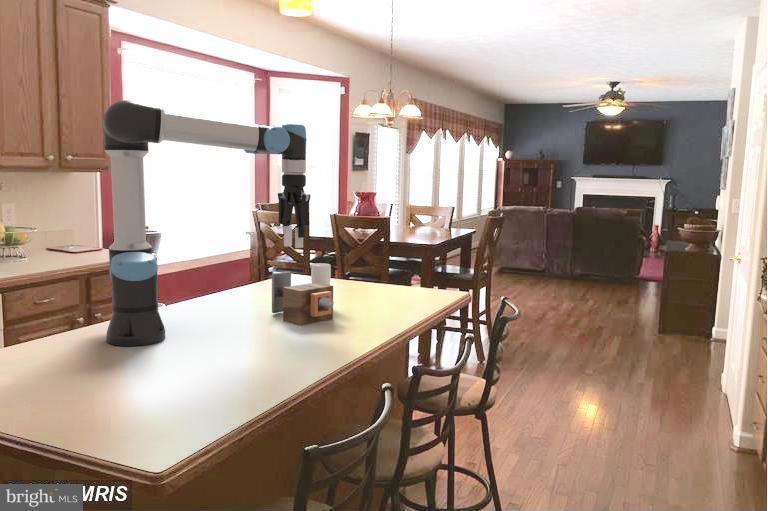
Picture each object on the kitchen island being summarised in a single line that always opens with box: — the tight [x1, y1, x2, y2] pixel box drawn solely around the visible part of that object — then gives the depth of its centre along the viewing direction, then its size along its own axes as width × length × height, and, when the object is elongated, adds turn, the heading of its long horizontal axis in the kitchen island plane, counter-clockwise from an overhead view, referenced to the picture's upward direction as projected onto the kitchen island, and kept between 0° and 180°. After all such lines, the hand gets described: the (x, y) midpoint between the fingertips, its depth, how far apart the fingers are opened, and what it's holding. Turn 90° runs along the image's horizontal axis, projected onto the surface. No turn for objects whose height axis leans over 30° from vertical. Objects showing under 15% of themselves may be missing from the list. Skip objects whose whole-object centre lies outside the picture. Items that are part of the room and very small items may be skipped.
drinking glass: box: [310, 262, 332, 285], centre depth 222 cm, size 7×7×15 cm
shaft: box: [271, 271, 334, 314], centre depth 203 cm, size 7×24×13 cm, turn 48°
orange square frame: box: [311, 291, 332, 317], centre depth 198 cm, size 7×2×7 cm, turn 138°
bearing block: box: [282, 282, 334, 327], centre depth 202 cm, size 14×8×11 cm, turn 138°
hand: (293, 246), depth 205 cm, fingers open, 5 cm apart
